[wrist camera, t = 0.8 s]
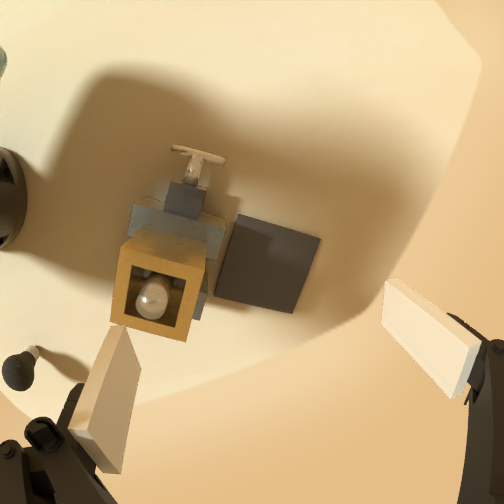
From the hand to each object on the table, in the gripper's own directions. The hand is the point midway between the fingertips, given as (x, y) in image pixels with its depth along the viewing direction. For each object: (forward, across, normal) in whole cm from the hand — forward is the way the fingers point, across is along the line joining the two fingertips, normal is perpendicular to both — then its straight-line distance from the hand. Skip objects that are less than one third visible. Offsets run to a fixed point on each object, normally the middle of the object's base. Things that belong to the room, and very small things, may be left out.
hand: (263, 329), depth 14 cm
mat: (+24, +4, -6) cm, 25 cm away
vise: (+24, -6, +1) cm, 25 cm away
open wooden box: (+18, -7, -2) cm, 20 cm away
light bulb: (+25, -35, -16) cm, 46 cm away
